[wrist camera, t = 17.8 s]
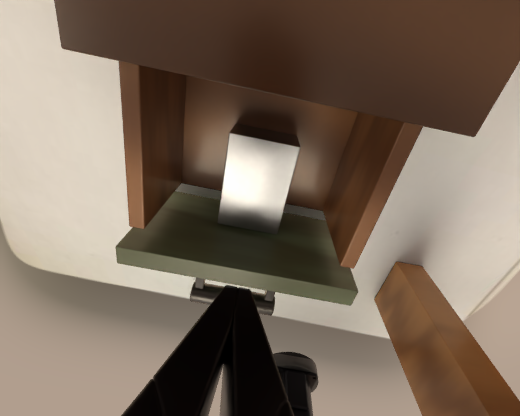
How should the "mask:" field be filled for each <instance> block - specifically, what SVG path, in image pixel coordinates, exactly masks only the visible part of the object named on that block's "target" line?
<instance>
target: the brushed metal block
mask: <svg viewBox="0 0 520 416" xmlns="http://www.w3.org/2000/svg"><path fill="white" fill-rule="evenodd" d="M300 148H301V147H300V143H299V140H298V136H296V135H291V134H286V133H281V132H276V131H272V130H267V129H262V128H257V127H252V126H247V125H243V124H238V123H236V124H235V125H234V127H233V128H232V130H231V131H230V133H229V138H228V146H227V154H226V161H225V169H224V177H223V184H222V192H221V200H220V207H219V215H218V223H219V224H224V225H229V226H234V227H240V228H245V229H250V230H255V231H261V232H266V233H271V234H277V233H278V229H279V226H280V222H281V218H282V215H283V211H284V207H285V203H286V200H287V196H288V192H289V189H290V185H291V181H292V178H293V174H294V170H295V166H296V163H297V159H298V155H299V152H300Z"/></svg>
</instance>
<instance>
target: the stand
mask: <svg viewBox="0 0 520 416" xmlns="http://www.w3.org/2000/svg"><path fill="white" fill-rule="evenodd" d="M374 300H375V303H376V305H377V307H378V310H379V312H380V315H381V317H382V319H383V322H384V324H385V327H386V329H387V332H388V334H389V336H390V339H391V341H392V343H393V346H394V348H395V351H396V353H397V356H398V358H399V360H400V363H401V365H402V368H403V370H404V372H405V375H406V377H407V380H408V382H409V385H410V387H411V389H412V392H413V394H414V396H415V399H416V401H417V404H418V406H419V409H420V411H421V414H422V416H520V401H519V400H518V398H517V397H516V396H515V394H514V393H513V391H512V390H511V388H510V387H509V386H508V384H507V383H506V382H505V380H504V379H503V377H502V376H501V375H500V373H499V372H498V371H497V369H496V368H495V366H494V365H493V364H492V362H491V361H490V360H489V358H488V357H487V355H486V354H485V353H484V351H483V350H482V348H481V347H480V345H479V344H478V343H477V342H476V340H475V339H474V337H473V336H472V334H471V333H470V332H469V330H468V329H467V327H466V326H465V325H464V323H463V322H462V321H461V319H460V318H459V316H458V315H457V314H456V312H455V311H454V309H453V308H452V307H451V305H450V304H449V302H448V301H447V300H446V298H445V297H444V296H443V294H442V293H441V291H440V290H439V289H438V287H437V286H436V284H435V283H434V282H433V280H432V279H431V278H430V276H429V275H428V273H427V272H426V271H425V269H424V268H423V267H422V266H417V265H412V264H407V263H401V262H396V263H395V265H394V266H393V268H392V270H391V272H390V273H389V275H388V277H387V278H386V280H385V282H384V284H383V285H382V287H381V289H380V290H379V292H378V294H377V296H376V297H375V299H374Z"/></svg>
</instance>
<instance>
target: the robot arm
mask: <svg viewBox="0 0 520 416" xmlns="http://www.w3.org/2000/svg"><path fill="white" fill-rule="evenodd" d="M223 364H224V365H223ZM222 368H223V377H222V391H221V405H220V416H313V411H312V401H311V390H312V388H313V386H314V385H315V383H316V381H317V379H318V376H317V374H316V373H313V372H307V371H301V370H295V369H289V368H283V367H277V365H276V362H275V359H274V356H273V353H272V351H271V348H270V345H269V342H268V339H267V336H266V333H265V330H264V328H263V325H262V322H261V319H260V316H259V313H258V310H257V307H256V304H255V301H254V298H253V296H252V293H251V291H250V290H249V289H245V288H237V287H234V286H229V285H226V286H225V287H224V288H223V289H222V291H221V292H220V293H219V294H218V296H217V297H216V298H215V299H214V301H213V302H212V303H211V304H210V306H209V307H208V308H207V310H206V311H205V312H204V313H203V315H202V316H201V317H200V318H199V320H198V321H197V322H196V323H195V325H194V326H193V327H192V328H191V330H190V331H189V332H188V333H187V335H186V336H185V337H184V339H183V340H182V341H181V342H180V344H179V345H178V346H177V347H176V349H175V350H174V351H173V352H172V354H171V355H170V356H169V357H168V359H167V360H166V361H165V362H164V364H163V365H162V366H161V368H160V369H159V370H158V371H157V373H156V374H155V375H154V377H153V379H151V380H150V381H149V382H148V384H147V385H146V386H145V388H144V389H143V390H142V391H141V393H140V394H139V395H138V396H137V397H136V399H135V400H134V401H133V402H132V404H131V405H130V406H129V407H128V408H127V409H126V411H125V412H124V413H123V414H122V415H121V416H208V414H209V411H210V408H211V404H212V401H213V398H214V394H215V391H216V388H217V384H218V381H219V378H220V375H221V371H222Z"/></svg>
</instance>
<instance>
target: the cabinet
mask: <svg viewBox="0 0 520 416" xmlns="http://www.w3.org/2000/svg"><path fill="white" fill-rule="evenodd" d="M54 1H55V8H56V14H57V21H58V27H59V34H60V40H61V47H62V48H63V49H66V50H71V51H75V52H80V53H85V54H89V55H94V56H99V57H103V58H108V59H113V60H117V61H122V62H127V63H131V64H136V65H141V66H145V67H150V68H155V69H159V70H164V71H169V72H173V73H178V74H182V75H187V76H192V77H196V78H201V79H206V80H210V81H215V82H220V83H224V84H229V85H234V86H238V87H243V88H248V89H252V90H257V91H262V92H266V93H271V94H276V95H280V96H285V97H289V98H294V99H299V100H303V101H308V102H313V103H317V104H322V105H327V106H331V107H336V108H341V109H345V110H350V111H355V112H359V113H364V114H369V115H373V116H378V117H383V118H387V119H392V120H397V121H401V122H406V123H410V124H415V125H420V126H424V127H429V128H434V129H438V130H443V131H448V132H452V133H457V134H462V135H466V136H471V137H475V136H476V134H477V132H478V131H479V129H480V127H481V126H482V124H483V122H484V120H485V119H486V117H487V115H488V114H489V112H490V110H491V109H492V107H493V105H494V104H495V102H496V100H497V99H498V97H499V95H500V93H501V92H502V90H503V88H504V87H505V85H506V83H507V82H508V80H509V78H510V77H511V75H512V73H513V72H514V70H515V68H516V66H517V65H518V63H519V61H520V0H54Z"/></svg>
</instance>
